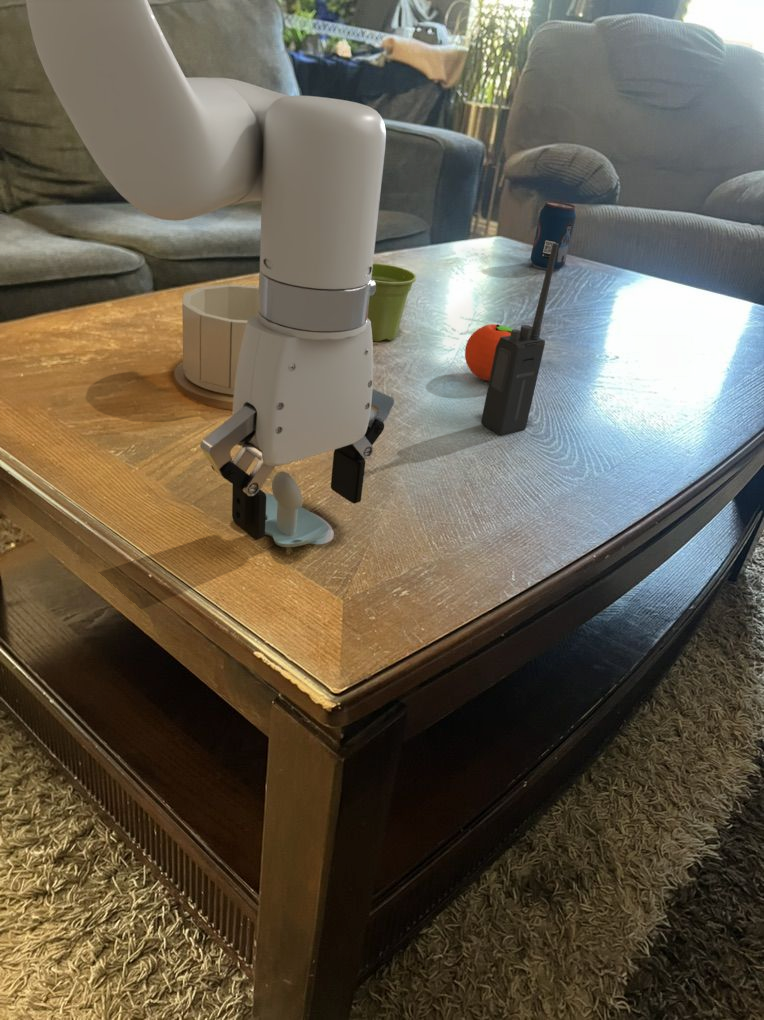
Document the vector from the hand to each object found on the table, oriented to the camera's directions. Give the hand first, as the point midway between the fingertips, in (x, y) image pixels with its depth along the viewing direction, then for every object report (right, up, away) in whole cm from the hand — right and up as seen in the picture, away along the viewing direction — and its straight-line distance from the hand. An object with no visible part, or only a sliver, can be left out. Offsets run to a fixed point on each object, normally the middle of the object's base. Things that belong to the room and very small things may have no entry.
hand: (299, 512), depth 62 cm
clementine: (+20, +17, +37) cm, 46 cm away
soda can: (+40, +49, +95) cm, 114 cm away
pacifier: (-1, -2, +1) cm, 3 cm away
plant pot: (+5, +24, +46) cm, 53 cm away
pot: (-7, +17, +28) cm, 33 cm away
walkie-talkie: (+20, +9, +25) cm, 33 cm away
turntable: (-9, +15, +26) cm, 32 cm away
